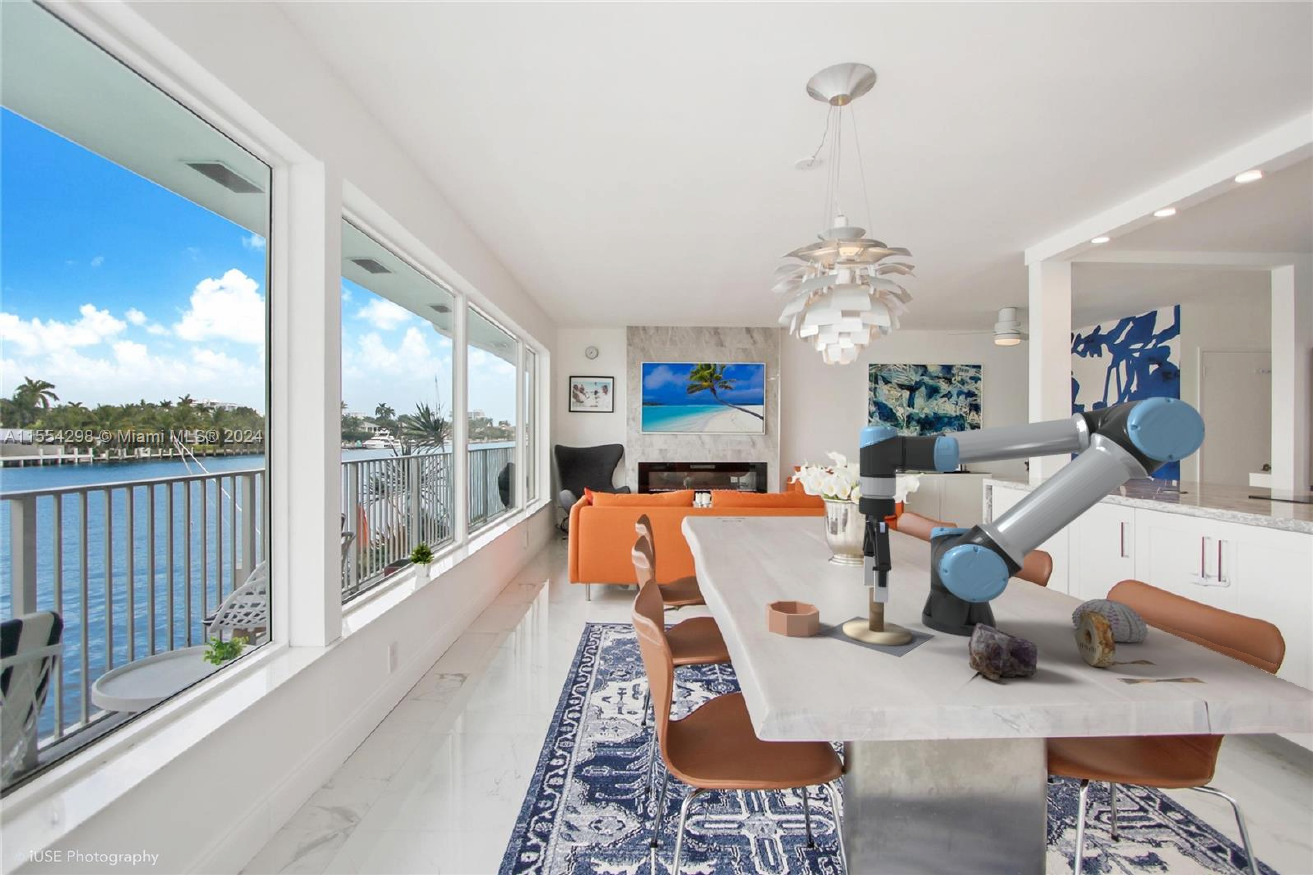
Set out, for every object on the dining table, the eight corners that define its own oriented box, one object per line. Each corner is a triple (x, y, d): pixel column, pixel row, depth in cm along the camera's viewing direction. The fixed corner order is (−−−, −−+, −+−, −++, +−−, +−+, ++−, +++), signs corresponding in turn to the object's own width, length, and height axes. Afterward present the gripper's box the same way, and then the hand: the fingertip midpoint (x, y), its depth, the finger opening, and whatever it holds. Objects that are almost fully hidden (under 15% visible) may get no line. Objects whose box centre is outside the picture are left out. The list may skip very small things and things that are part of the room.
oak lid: (921, 635, 125) (922, 589, 125) (894, 651, 116) (894, 602, 116) (861, 619, 135) (861, 577, 135) (831, 633, 126) (831, 588, 126)
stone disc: (1120, 675, 106) (1120, 621, 106) (1096, 673, 107) (1096, 619, 107) (1095, 655, 116) (1095, 605, 116) (1073, 653, 117) (1074, 604, 117)
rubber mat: (935, 637, 125) (935, 635, 125) (899, 658, 113) (899, 656, 113) (857, 618, 138) (857, 616, 138) (818, 635, 126) (818, 633, 126)
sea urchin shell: (1061, 624, 135) (1062, 590, 135) (1129, 629, 132) (1130, 594, 132) (1087, 643, 122) (1087, 606, 122) (1163, 650, 119) (1163, 611, 119)
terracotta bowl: (826, 630, 129) (826, 608, 129) (799, 642, 122) (799, 618, 122) (785, 618, 137) (785, 597, 137) (757, 629, 130) (757, 607, 130)
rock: (1041, 690, 102) (1004, 666, 112) (1050, 643, 102) (1012, 623, 112) (979, 681, 101) (947, 658, 111) (987, 634, 101) (955, 614, 111)
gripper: (851, 490, 138) (849, 578, 139) (868, 502, 114) (866, 608, 114) (884, 491, 137) (882, 580, 137) (908, 503, 113) (906, 611, 113)
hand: (875, 593), depth 126 cm, fingers open, 13 cm apart
